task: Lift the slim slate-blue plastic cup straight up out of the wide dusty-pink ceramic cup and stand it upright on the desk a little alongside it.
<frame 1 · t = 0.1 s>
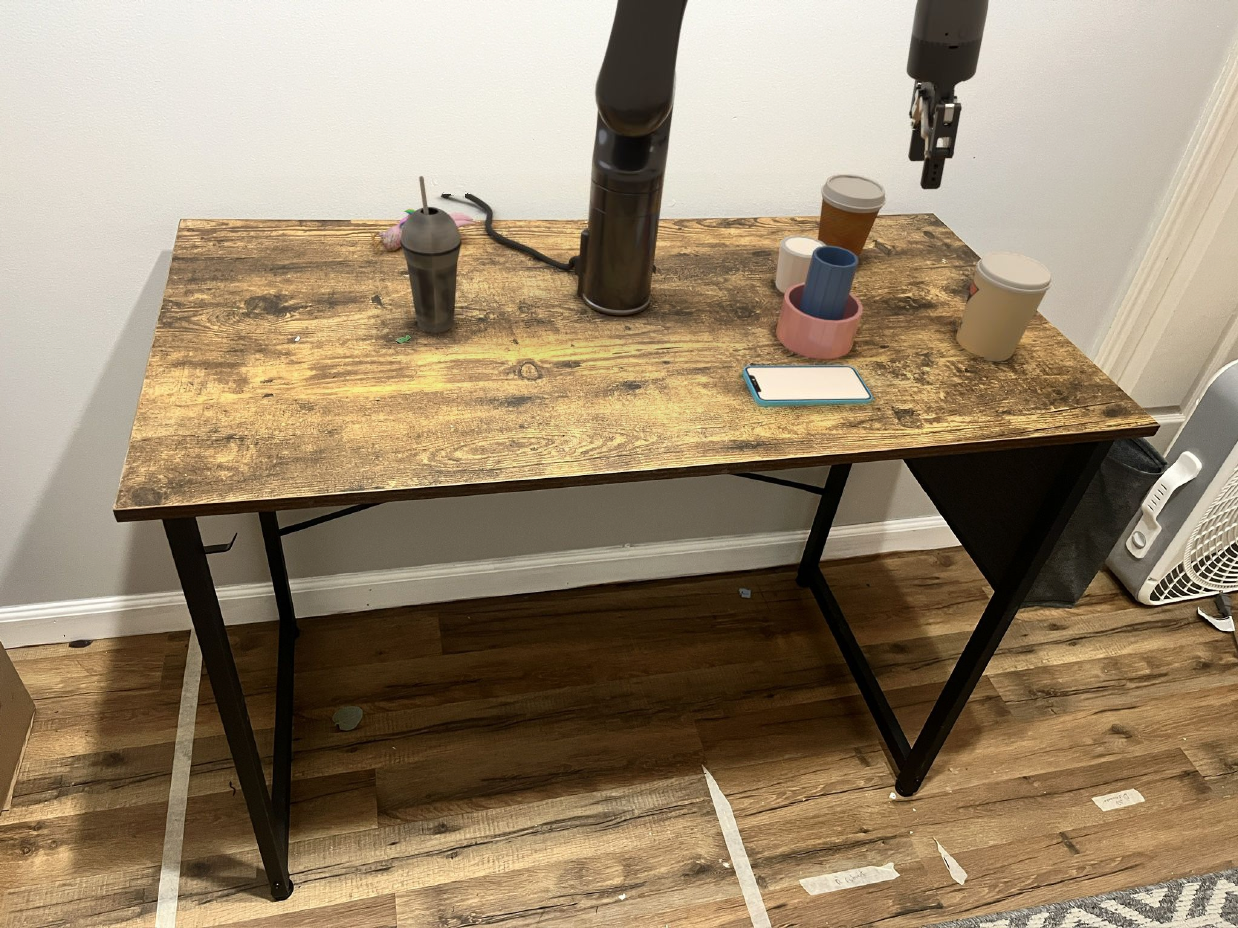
hand: (923, 174, 108), 22 cm above the table, tool pointing down, fingers open, 8 cm apart
beverage cup: (435, 324, 115), on the table
smartphone: (805, 390, 111), on the table
white cylinder: (793, 290, 130), on the table
pink cup: (813, 340, 119), on the table, touching blue cup
coffee cup: (983, 347, 122), on the table
disposable coffee cup: (835, 261, 138), on the table
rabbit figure: (424, 245, 131), on the table
blue cup: (813, 337, 119), resting on pink cup
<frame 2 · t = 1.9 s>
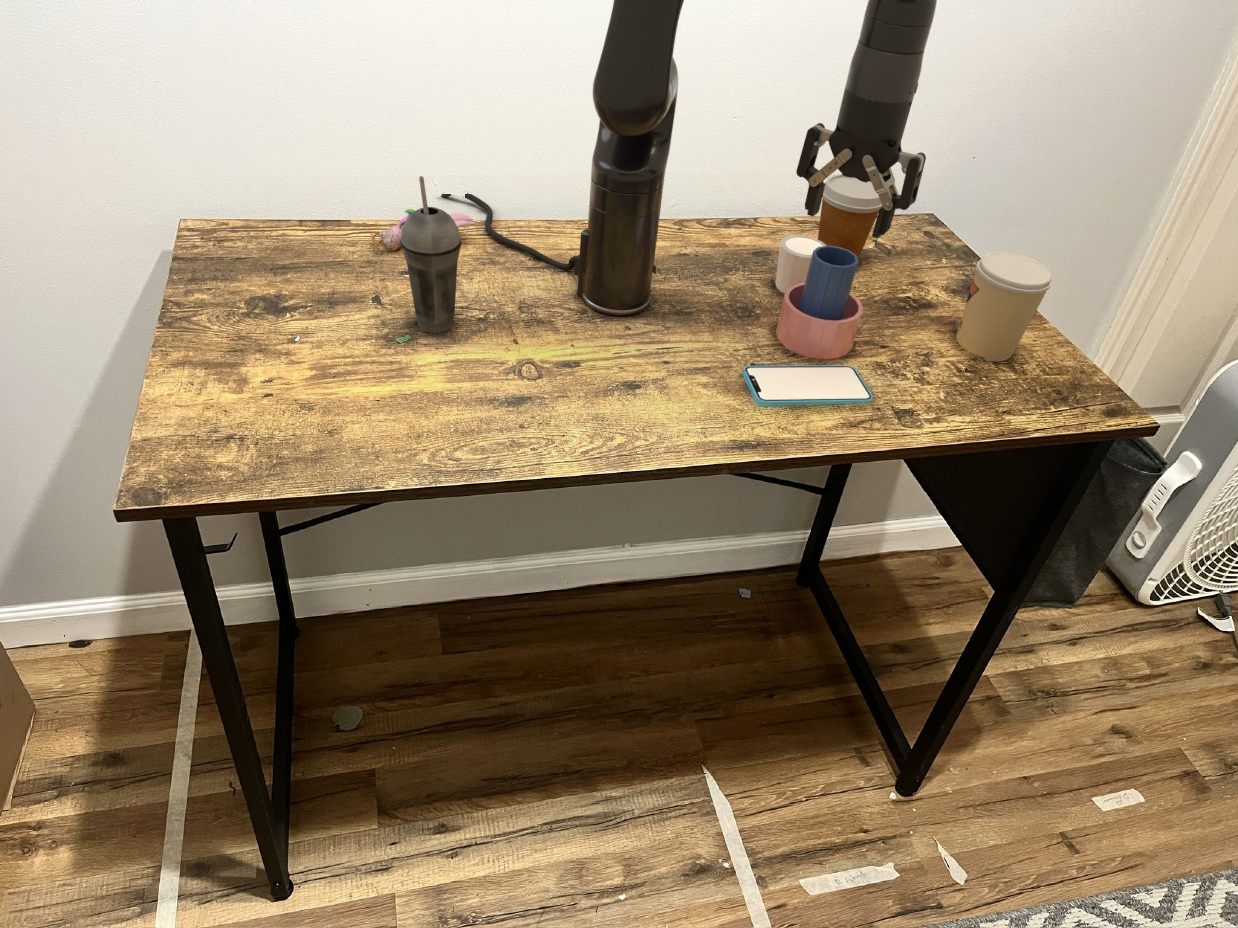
hand: (844, 225, 108), 17 cm above the table, tool pointing down, fingers open, 8 cm apart
nothing on the table moved.
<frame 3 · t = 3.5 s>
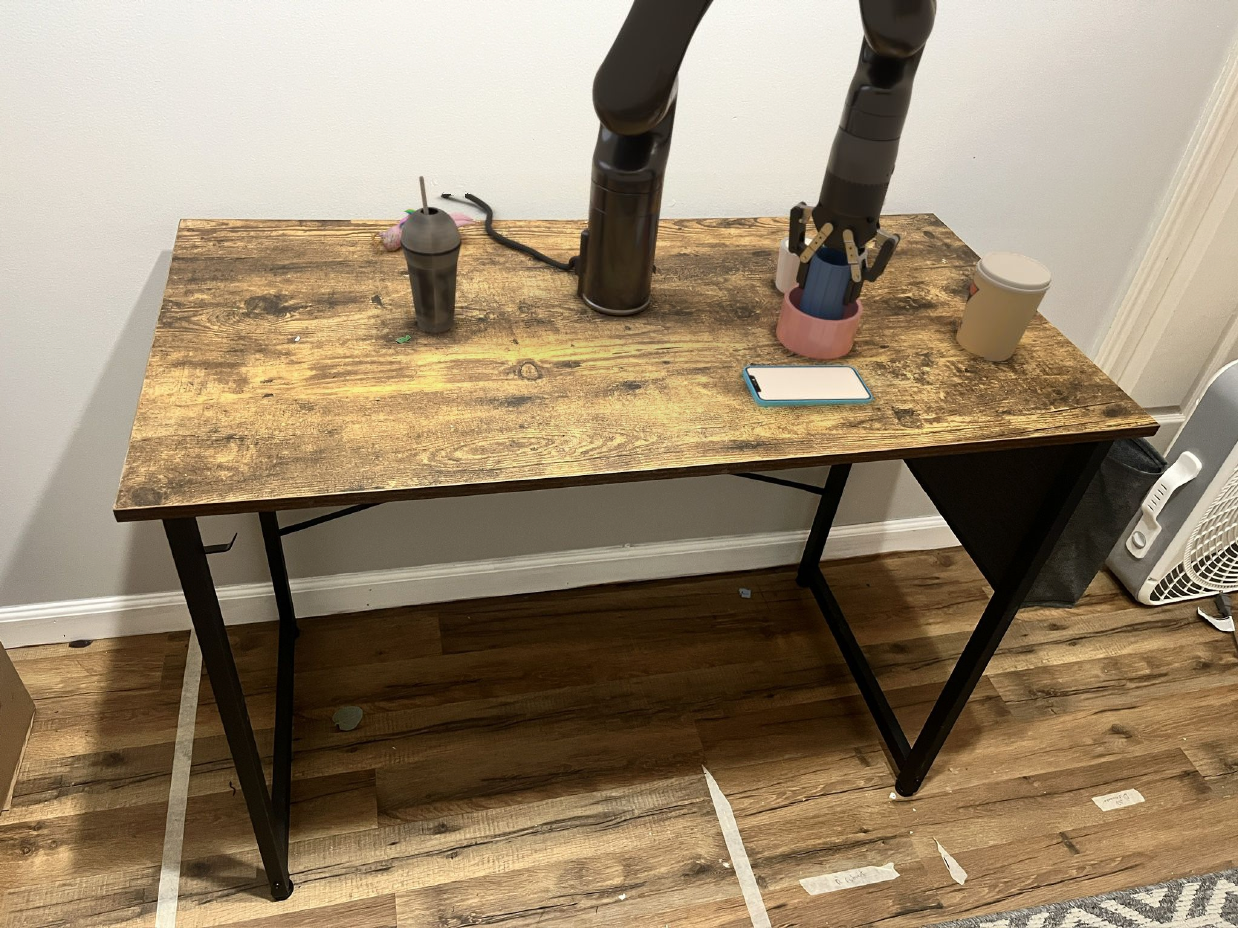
hand: (825, 294, 115), 7 cm above the table, tool pointing down, fingers closed on blue cup, 5 cm apart
blue cup: (813, 337, 119), resting on pink cup, touching gripper
everything else where it was.
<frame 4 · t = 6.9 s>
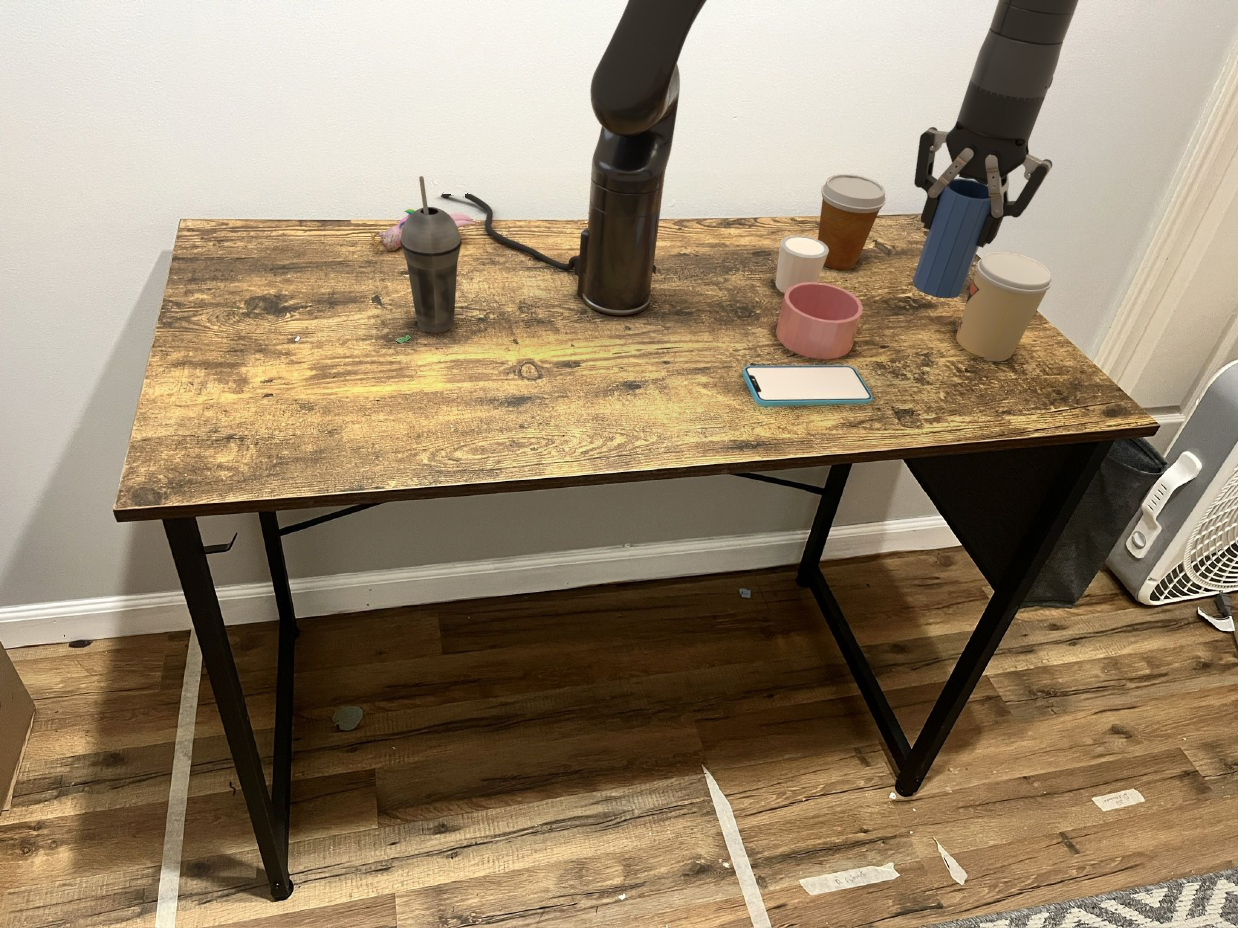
hand: (955, 235, 101), 20 cm above the table, tool pointing down, fingers closed on blue cup, 5 cm apart
pink cup: (813, 340, 119), on the table
blue cup: (936, 286, 105), point 14 cm above the table, touching gripper
everything else where it was.
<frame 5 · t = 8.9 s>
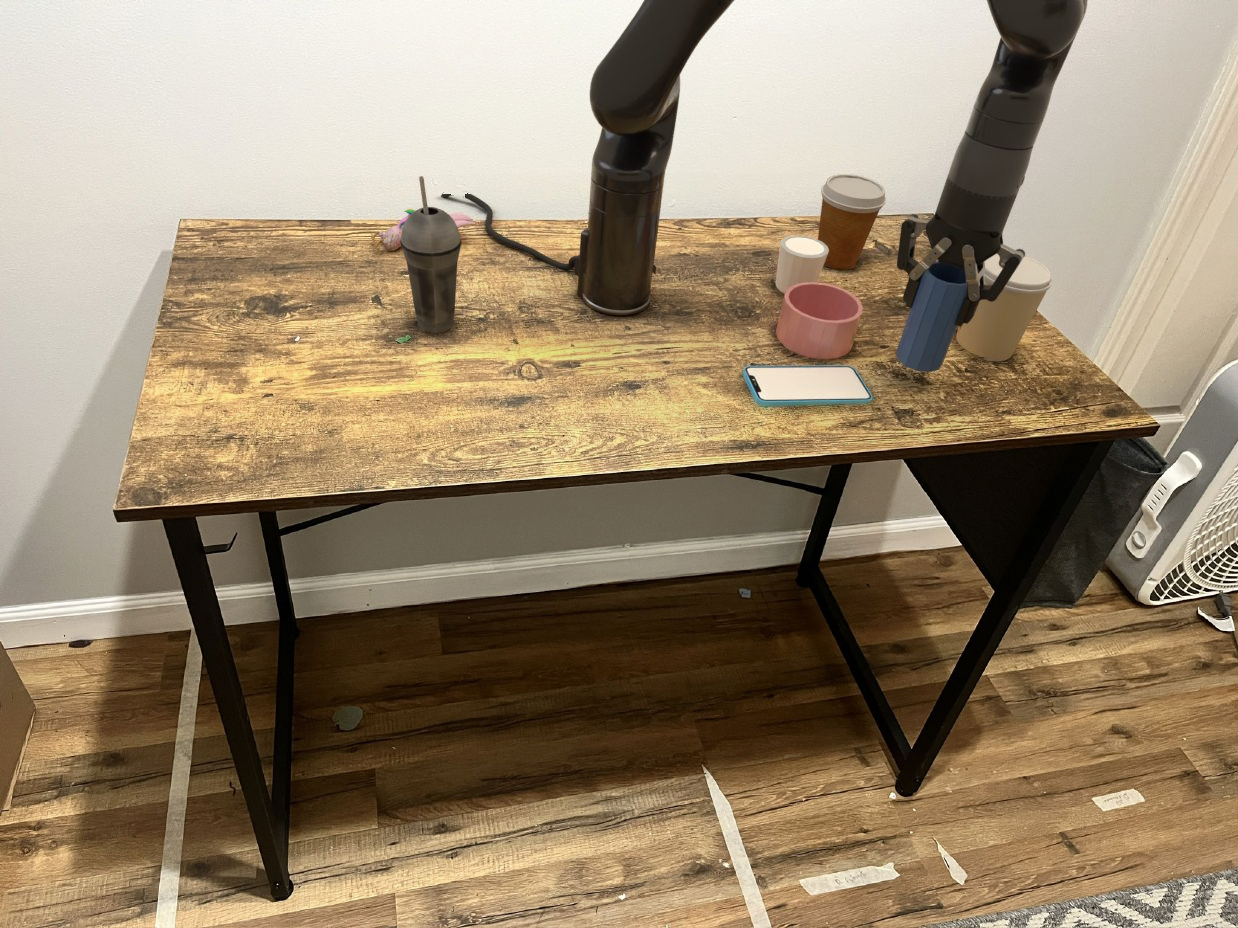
hand: (935, 313, 107), 10 cm above the table, tool pointing down, fingers closed on blue cup, 5 cm apart
blue cup: (918, 359, 111), point 4 cm above the table, touching gripper
everything else where it was.
when the fingers open (7 cm above the table, at t = 10.3 s): blue cup stays where it is, on the table.
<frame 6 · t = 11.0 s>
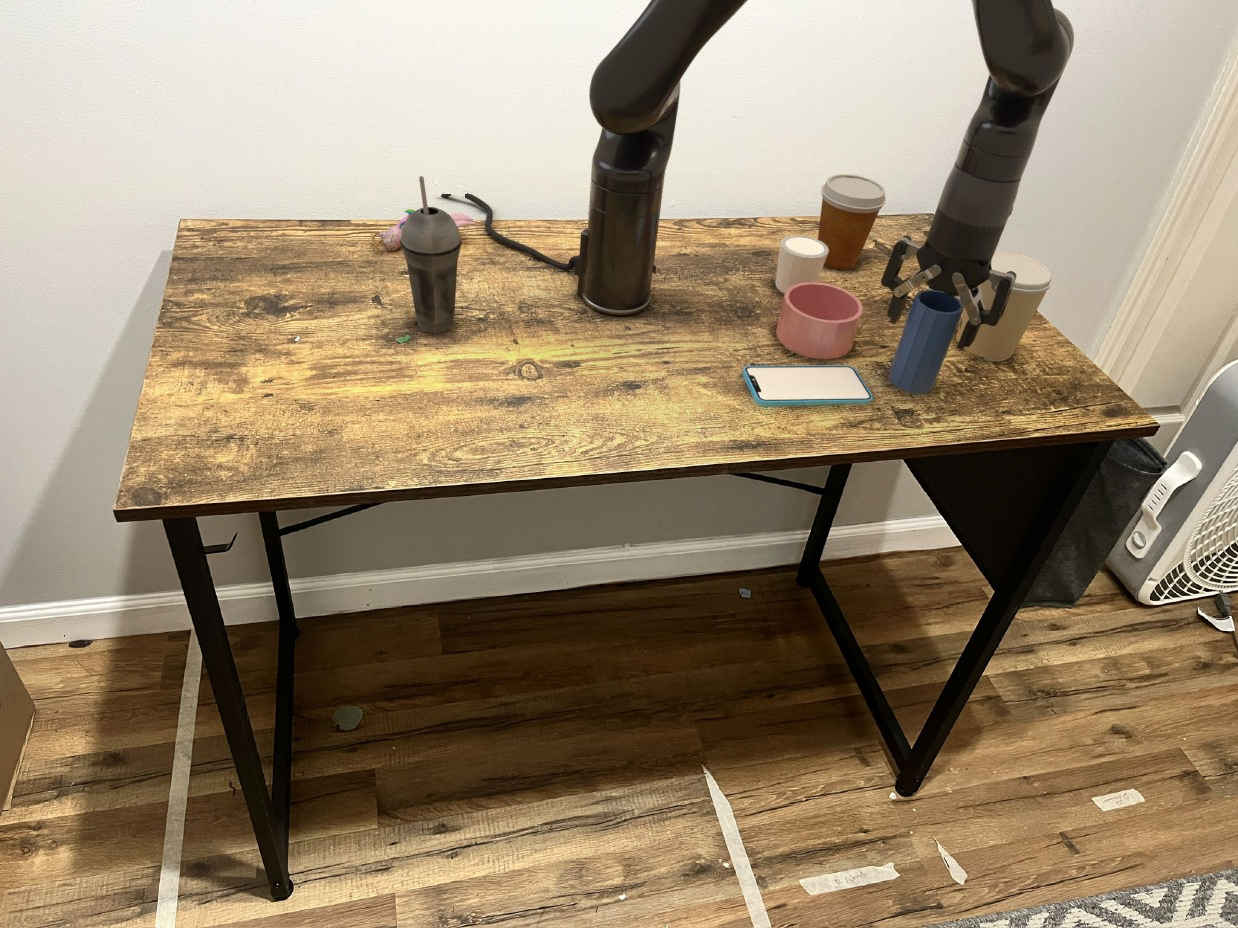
hand: (927, 333, 109), 8 cm above the table, tool pointing down, fingers open, 8 cm apart
blue cup: (909, 383, 113), on the table
everything else where it was.
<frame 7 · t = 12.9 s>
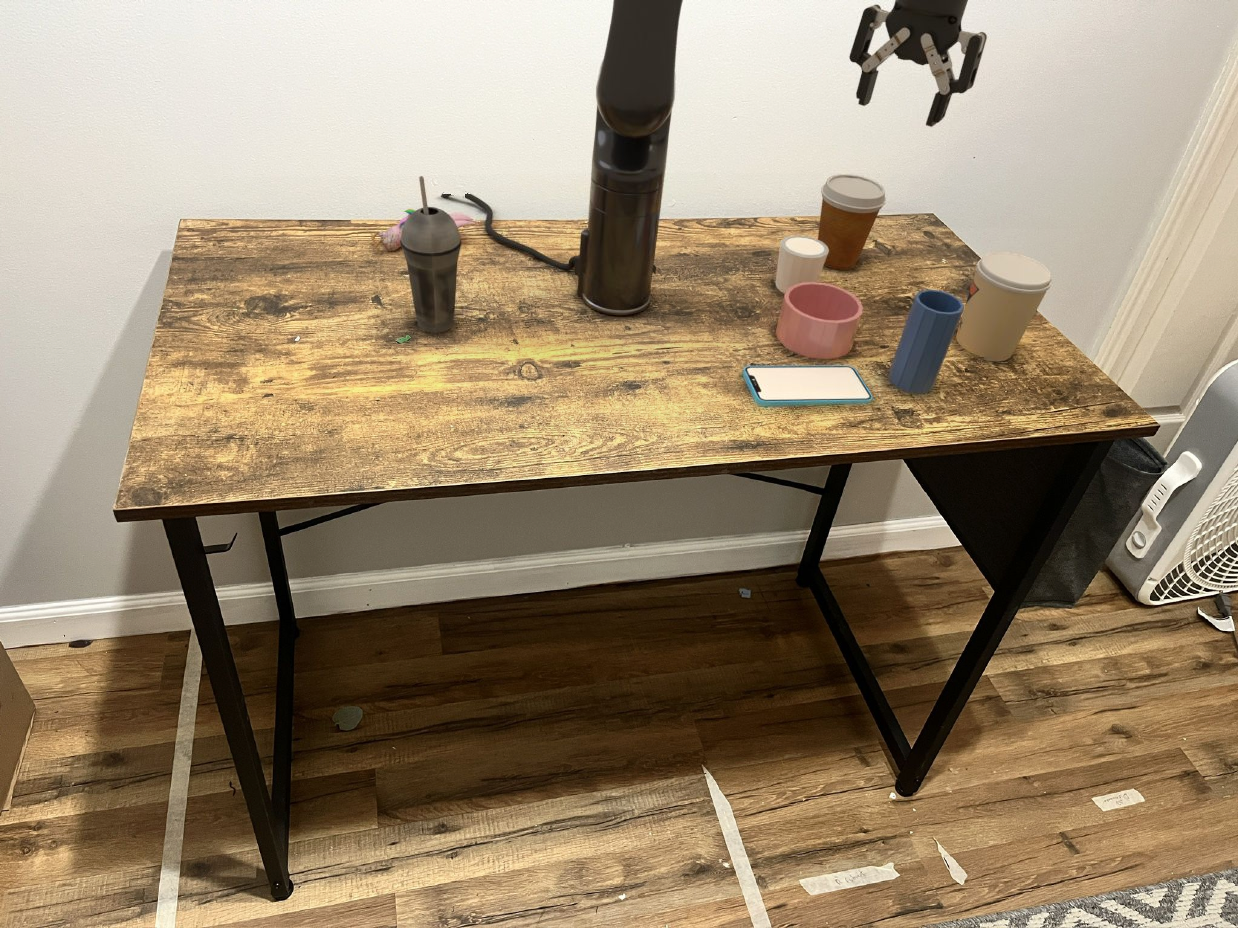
hand: (897, 114, 105), 28 cm above the table, tool pointing down, fingers open, 8 cm apart
nothing on the table moved.
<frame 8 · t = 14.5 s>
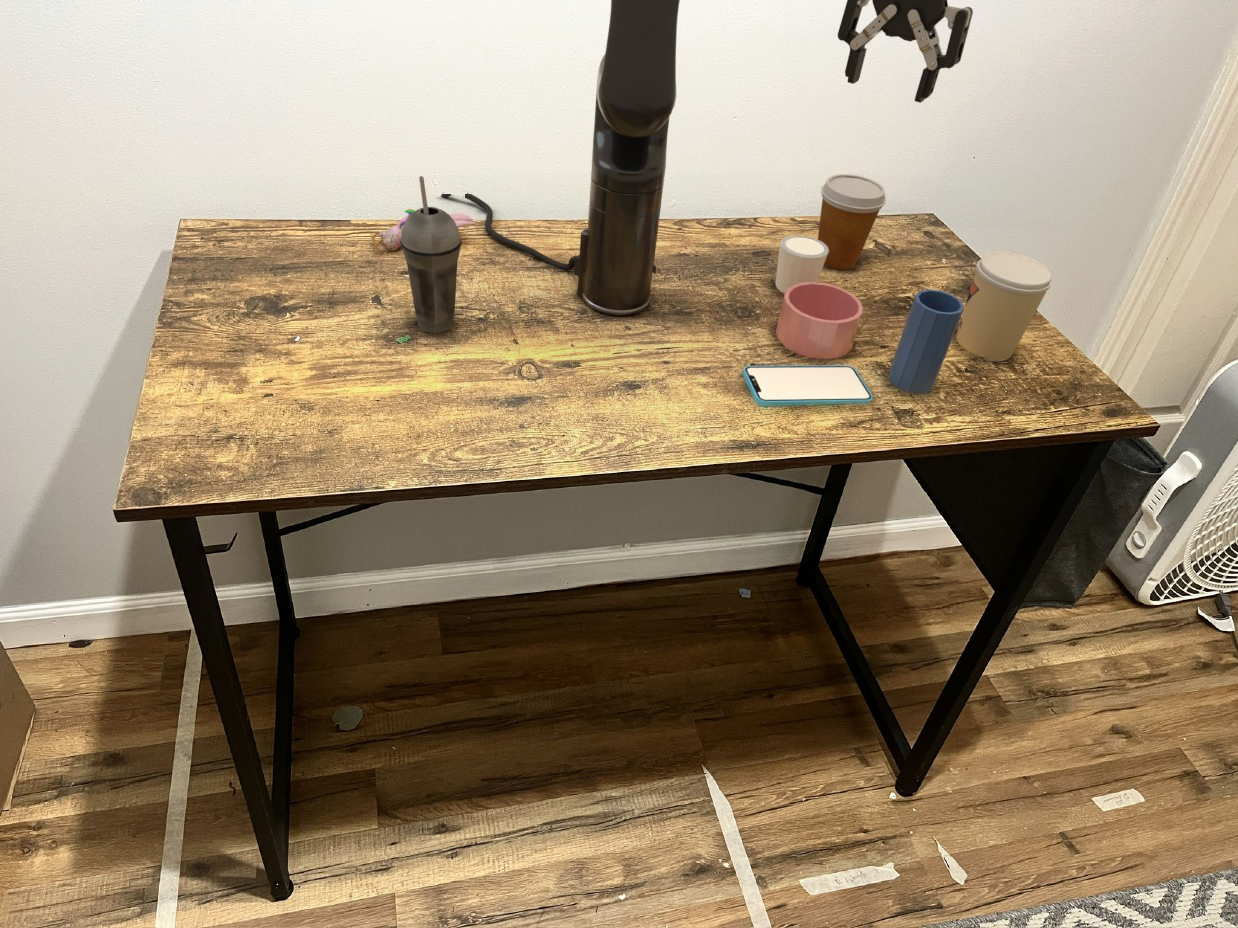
hand: (885, 91, 106), 30 cm above the table, tool pointing down, fingers open, 8 cm apart
nothing on the table moved.
at the end: blue cup inside the target area (0.1 cm from its centre), on the table; blue cup tilted 0°; pink cup moved 0.0 cm from its start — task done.
